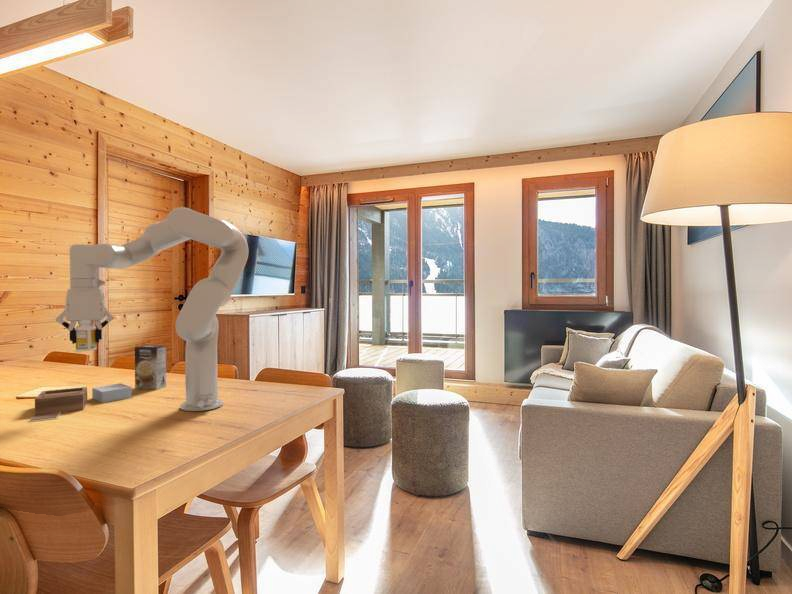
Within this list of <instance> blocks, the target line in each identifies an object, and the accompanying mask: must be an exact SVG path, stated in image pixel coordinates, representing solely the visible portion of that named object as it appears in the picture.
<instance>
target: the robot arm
mask: <svg viewBox="0 0 792 594" xmlns="http://www.w3.org/2000/svg"><path fill="white" fill-rule="evenodd" d="M189 240H193V241H195V242H196V241H197V242H199V243H201V244H205V245H208V246H209V247H210V246H211V247H214V248H216V249H219V250H221V251H220V256H219V257H218V258H217V260H216V262H215V263H214V266H213V267H212V269H211V271H210V274H209V275H208V277H207V278H203V279H200V280H199V281H197V282H196V283H195V284H194V285H193V287H192V288H191V289H190V292H189V293H188V295H187V297H186V300H185V301H184V303H183V306H182V308H181V309H180V311H179V314H178V315H177V317H176V320H175V332H176V333H177V336H178V337H179V338H181V339H182V340H183V341H185V349H184V351H185V353H184V354H185V355H184V356H185V357H184V358H185V359H184V361H185V363H184V364H185V370H184V371H185V401H183V402H182V403H181V404H180V409H181V410H183V411H186V412H202V411H203V412H204V411H211V410H215V409H217V408H219V407H221V406H223V404H224V400H222V399H221V398H219V396H218V395H219V394H218V393H219V392H218V389H219V387H218V386H219V385H218V340H219V339H218V338H219V329H220V323H219V318H218V316H217V313H218V311H219V309H220V308H222V307H223V306H225V305H226V304H228V302H229V301H230V300H231V299H230V298H231V296H232V294H233V292H234V290H235V288H236V285H237V284H238V282H239V280H240V277H241V275H242V273H243V271H244V269H245V266H246V264H247V261H248V258H249V250H250V249H249V246H248V242H247V239H246V237H245V236H244V235H243V233H242V232H241V231H240V230H239V229H238V228H237V227H236V226H235V225H233V224H231V223H229V222H227V221H225V220H222V219H219V218H217V217H214V216H210V215H207V214H205V213H202V212H198V211H196V210H193V209H191V208H190V207H189V208H188V207H184V206H183V207H182V206H179V207H175V208H173V209H172V210H170V211H169V212H168V214H167V216H166V218H164V219H162V220H160V221H157V222H155V223H152V224H149V225H147V226H146V227H145V228H144V232H143V234H142V235H140V236H139V237H137V238H136V239H134V240H131V241H129V242H126V243H124V244H121V245H119V244H111V243H97V244H86V243H85V244H84V243H79V244H72V245H71V246H70V247H69V278H70V279H69V287H70V288H67V292H66V295H65V296H66V297H65V304H64V305H65V306H64V310H63V311H62V312H61V313H60V314H59V315H58V316H57V317H56V318H55V321H56V322H58V323H59V324H60V325H62V326H63V327H64V328H66V329H67V330H68V331H69V341H70V342H71V343H72V345H76V333H75V328H76V324H77V323H78V321H81V320H90V321H94V323H95V326H96V342H97V343H100V340H102V339H103V337H102V336H103V335H102V333H103V332H102V331H103V330H102V329H103V328H104V327H106V326H107V325H108V324H109V323H110V322H112V321H113V320H114V319H115V316H113V315H112V314H111V312H109V311H108V310H107V309H106V301H105V295H104V289H103V288H100V287H101V286H105V285H106V281H105V280H102V279H100V268H102V269H103V268H104V269H116V270H117V269H118V270H123V269H127V268H130V267H133V266H135V265H138V264H140V263H142V262H144V261H148V260H149V259H151V258H153V257H155V256H157V255H158V254H160V253H161V252H162V251H165V250H167V249H170V248H172V247H174V246H177V245H180V244H181V243H184V242H187V241H189ZM64 318H65V320H64ZM105 318H106V319H105ZM103 319H105V320H104V321H102V320H103ZM68 321H69V322H70V323H69V322H68Z"/></svg>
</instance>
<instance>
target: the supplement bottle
mask: <svg viewBox="0 0 792 594" xmlns="http://www.w3.org/2000/svg"><path fill="white" fill-rule="evenodd" d="M77 323H78V325H77V326H75V327H74V328H75V333H76V343H75V351H76V352H89V351H94V350H95V351H96V350H97V348H98V345H97V344H98V342H96V329H97V325H94V323H95V321H90V320H81V321H77Z"/></svg>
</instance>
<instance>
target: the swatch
mask: <svg viewBox="0 0 792 594" xmlns="http://www.w3.org/2000/svg"><path fill="white" fill-rule="evenodd" d="M61 413H62V412H52V413H43V414H35V413H34V414H33V415H32V416H30V418H29V420H27V422H28V423H30V422H38V421H39V422H40V421H47V420H48V421H49V420H55V419H56V420H57V419H58V418H59V417H60V415H61Z"/></svg>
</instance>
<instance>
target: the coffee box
mask: <svg viewBox="0 0 792 594" xmlns="http://www.w3.org/2000/svg"><path fill="white" fill-rule="evenodd" d="M166 386H167V345H165V344H163V345H162V344H142V345H138V346H137V345H136V346H134V389H135V390H153V391H154V390H155V391H156V390H159V389H162V388H164V387H166Z"/></svg>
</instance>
